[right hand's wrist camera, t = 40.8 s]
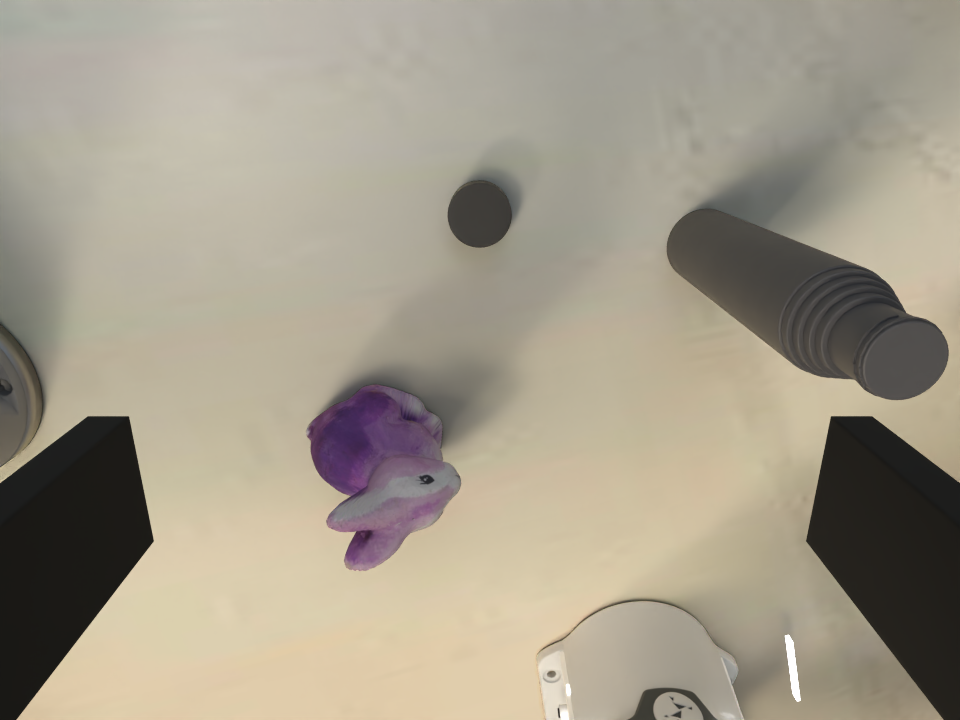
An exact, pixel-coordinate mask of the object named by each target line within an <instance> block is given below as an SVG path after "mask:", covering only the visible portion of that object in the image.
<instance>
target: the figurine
mask: <svg viewBox="0 0 960 720" xmlns="http://www.w3.org/2000/svg"><path fill="white" fill-rule="evenodd" d="M442 427H443V426H442V422H441V420H440V418H439V417H438V416H437V415H434V414H433V413H431V412H428V411H427V410H426V409H425V407H424V404H423V403H422V401H420V400H419V399H418V398H417V397H416V396H413V395H411V394H409V393H405V392H403V391H400V390H397V389H395V388H392V387H387V386H382V385H377V384H373V385H368V386H365V387H362V388H361V389H360V390H359V391H357V393H356V394H354V395H353V396H352V397H351V398H349V399H348V400H346V401H343V402H340V403H338V404H335V405H333V406H331V407H330V408H329V409H327V410H326V411H324V412H323V413H322V414H320V415H319V416H318V417H316V418H315V419H314V420H313V421H312V422H311V423H310V424H309V426H308V427H307V429H306V435H307V437H308V438H309V439H310V440H311V455H312V459H313V462H314V465H315V467H316V470H317V471H318V473H319V475H320V476H321V477H322V478H323V479H324V480H325V481H326V482H327V483H329V484H330V485H331V486H333V487H334V488H335V489H337V490H338V491H340V492H341V493H344V494H347V495H350V496H351V497H349V498H348V499H346V500H345V501H343V502H342V503H340V504H339V505H338V506H337V507H336V508H335V509H334V510H333V511H332V512H331V513H330V514H329V516H328V518H327V525H328V527H329V528H331V529H334V530H336V531H339V532H354V531H356V533H355V535H354V537H353V539H352V541H351V543H350V544H349V547H348V549H347V552H346V554H345V559H344V562H345V566H346V567H347V568H348V569H349V570H354V571H356V570H359V571H362V570H363V571H366V570H369V569H371V568H374V567H376V566H377V565H379V564H381V563H383V562H384V561H385V560H387V559H388V558H390V557H391V556H392V555H393V554H394V553H395V552H396V551H397V550H398V548H399V547H400V545H401V544H402V542H403V541H404V539H405V538H406V537H407V536H408V535H409V534H410V533H412V532H415V531H418V530H421V529H424V528H427V527H429V526H431V525H432V524H433V523H435V522H436V521H437V520H438V519H439V517H440V516H441V514H442V513H443V510H444V508H445V506H446V505H447V504H448V502H449V501H450V500H451V499H452V498H453V497H454V496H455V495H456V494H457V493H458V491H459V489H460V486H461V478H460V476H459V474H458V473H457V471H456V470H455V468H454V467H453V466H452V465H451V464H449V463H447V462H444V461H443V457H442V452H441V450H440V449H441V445H442V443H441V441H442V439H441V438H442V432H443V431H442V429H443V428H442Z"/></svg>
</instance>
